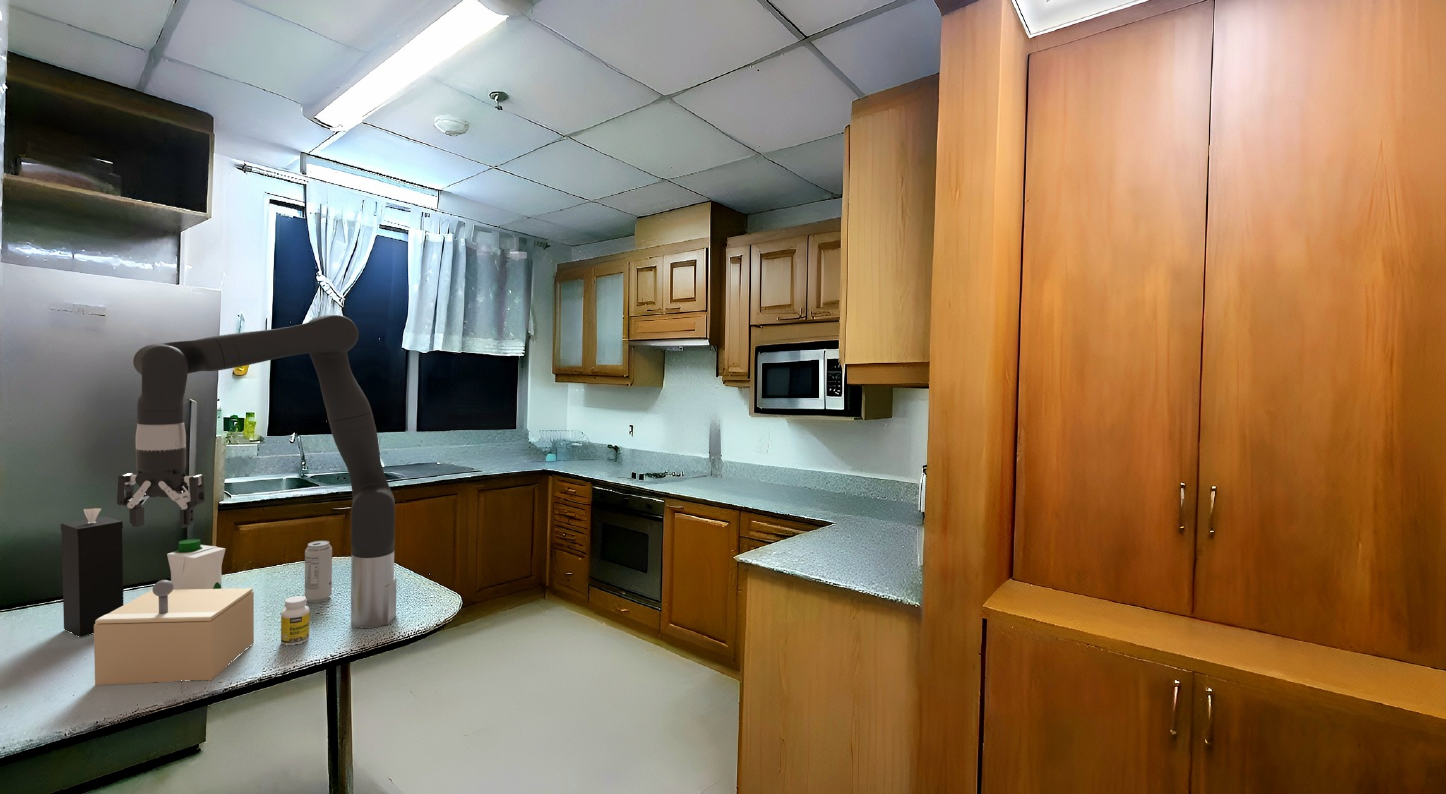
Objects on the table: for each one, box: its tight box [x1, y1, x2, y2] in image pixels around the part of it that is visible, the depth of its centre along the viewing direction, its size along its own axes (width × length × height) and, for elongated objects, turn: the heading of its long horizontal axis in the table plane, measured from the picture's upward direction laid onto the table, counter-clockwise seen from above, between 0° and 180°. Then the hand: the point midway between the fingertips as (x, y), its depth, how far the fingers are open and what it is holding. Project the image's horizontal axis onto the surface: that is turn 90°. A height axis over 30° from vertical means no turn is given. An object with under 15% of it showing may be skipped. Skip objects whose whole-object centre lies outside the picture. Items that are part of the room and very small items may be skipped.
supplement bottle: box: [280, 595, 311, 646], centre depth 147 cm, size 5×5×10 cm
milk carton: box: [167, 538, 227, 590], centre depth 152 cm, size 9×9×20 cm
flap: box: [95, 579, 254, 624], centre depth 134 cm, size 20×16×7 cm
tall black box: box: [60, 507, 125, 638], centre depth 148 cm, size 8×8×28 cm
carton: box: [93, 591, 255, 686], centre depth 135 cm, size 20×16×12 cm
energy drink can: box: [304, 540, 333, 604], centre depth 171 cm, size 6×6×15 cm
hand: (162, 526), depth 129 cm, fingers open, 8 cm apart
